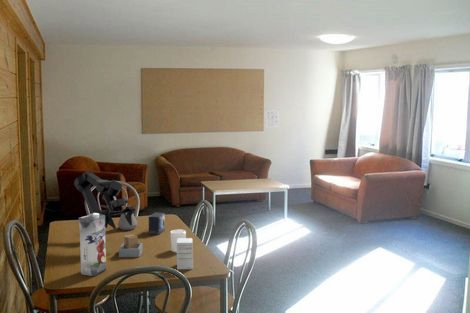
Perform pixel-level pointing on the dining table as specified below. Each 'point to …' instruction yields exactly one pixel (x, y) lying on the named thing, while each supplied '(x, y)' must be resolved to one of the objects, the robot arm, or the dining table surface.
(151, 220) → the small box
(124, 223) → the coffee pot
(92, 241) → the juice carton
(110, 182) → the robot arm
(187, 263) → the supplement box
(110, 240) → the dining table surface
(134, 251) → the open box
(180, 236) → the white cup
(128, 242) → the tan upright block
